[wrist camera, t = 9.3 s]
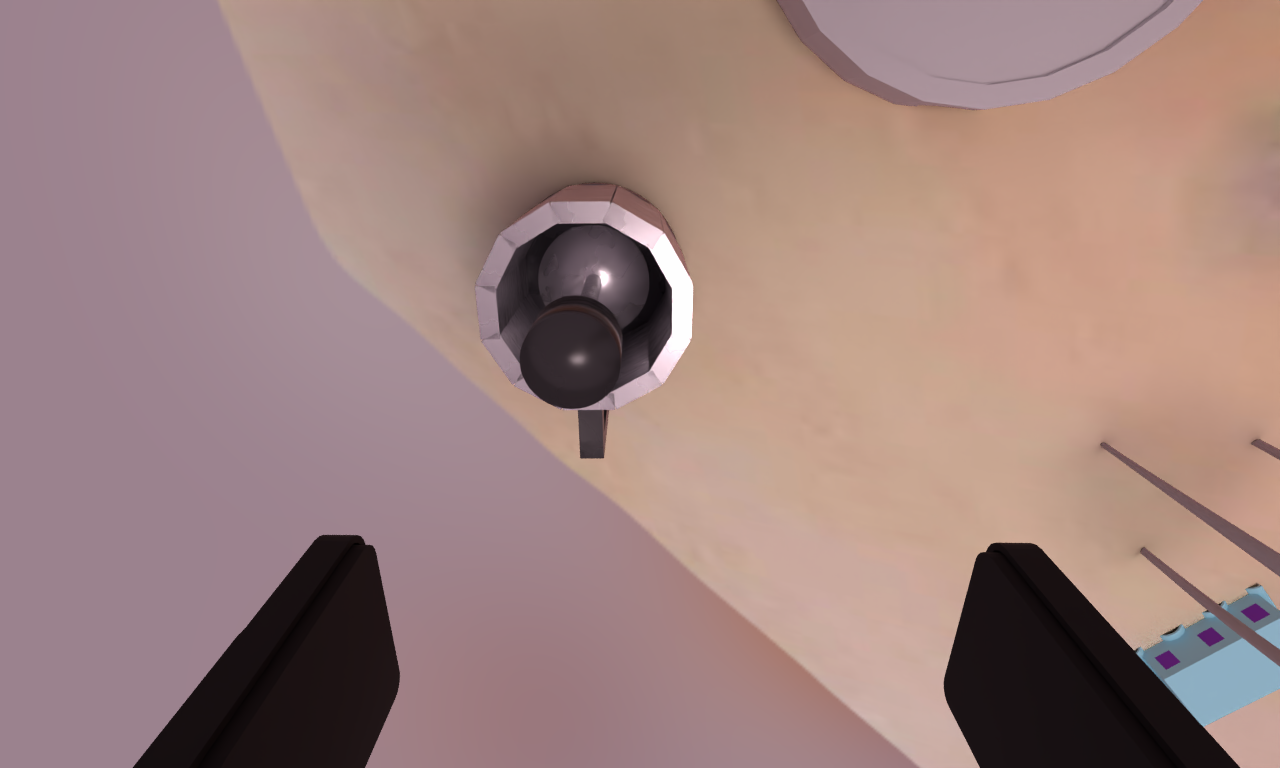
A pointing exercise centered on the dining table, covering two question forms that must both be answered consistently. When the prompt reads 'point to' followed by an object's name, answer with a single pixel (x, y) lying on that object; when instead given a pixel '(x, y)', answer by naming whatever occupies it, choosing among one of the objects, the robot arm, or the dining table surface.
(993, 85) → the ashtray
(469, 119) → the dining table surface
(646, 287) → the plunger
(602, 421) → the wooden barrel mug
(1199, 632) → the light blue block row
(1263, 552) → the juicer
